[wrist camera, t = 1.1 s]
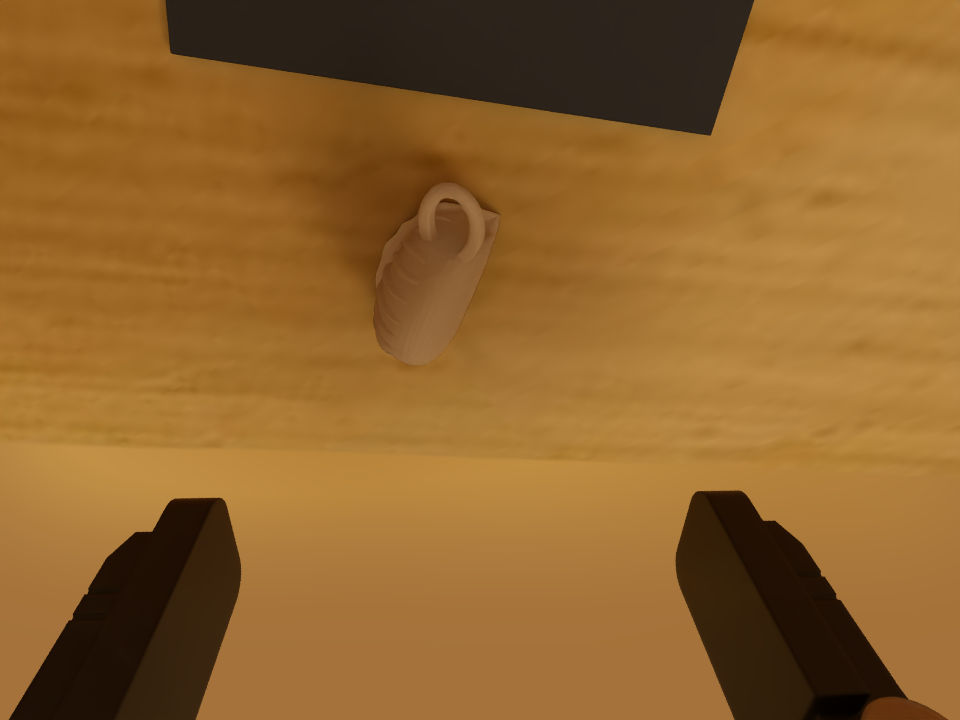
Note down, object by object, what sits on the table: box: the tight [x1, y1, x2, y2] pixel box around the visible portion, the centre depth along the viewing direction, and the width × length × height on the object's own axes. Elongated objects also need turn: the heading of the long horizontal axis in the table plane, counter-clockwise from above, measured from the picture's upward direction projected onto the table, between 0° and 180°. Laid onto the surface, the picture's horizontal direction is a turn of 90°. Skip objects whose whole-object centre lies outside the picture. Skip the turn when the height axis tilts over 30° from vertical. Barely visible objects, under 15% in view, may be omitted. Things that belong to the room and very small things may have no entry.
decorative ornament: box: [373, 182, 500, 365], centre depth 23 cm, size 4×8×5 cm, turn 155°
